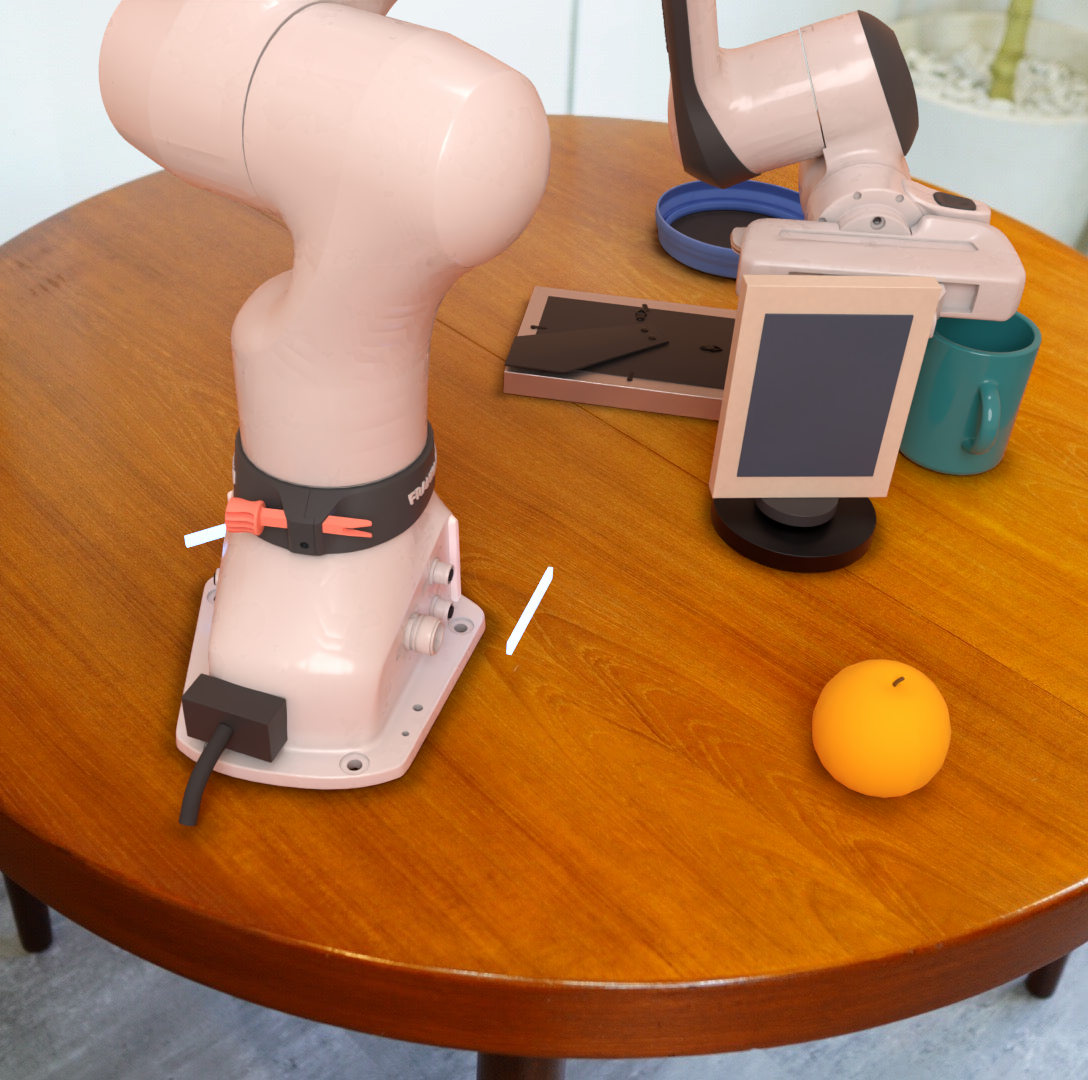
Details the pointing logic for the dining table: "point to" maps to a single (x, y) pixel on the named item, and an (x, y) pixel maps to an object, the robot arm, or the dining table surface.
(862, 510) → the swivel base
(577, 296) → the picture frame
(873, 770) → the orange
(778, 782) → the dining table surface
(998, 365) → the cup
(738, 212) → the bowl
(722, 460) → the photo frame
